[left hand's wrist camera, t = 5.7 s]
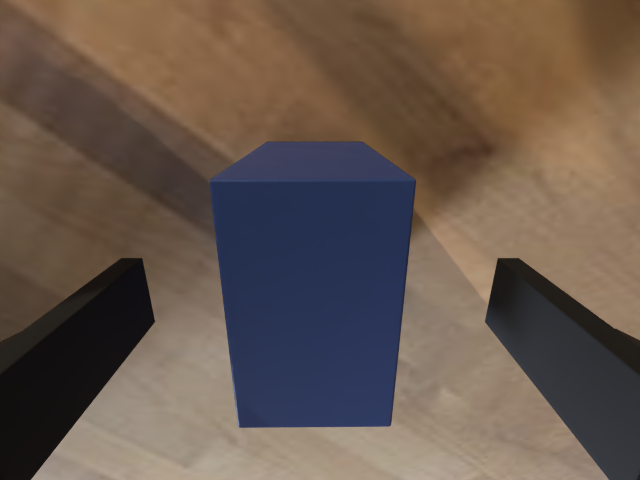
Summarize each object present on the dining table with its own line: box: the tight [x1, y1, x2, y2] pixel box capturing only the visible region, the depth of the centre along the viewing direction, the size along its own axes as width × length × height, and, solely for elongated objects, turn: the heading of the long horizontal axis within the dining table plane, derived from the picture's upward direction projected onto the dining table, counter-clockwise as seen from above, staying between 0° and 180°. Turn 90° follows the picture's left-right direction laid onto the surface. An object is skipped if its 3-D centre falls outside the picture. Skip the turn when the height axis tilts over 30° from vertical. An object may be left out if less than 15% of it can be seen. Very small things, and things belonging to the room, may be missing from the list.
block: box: [209, 142, 416, 428], centre depth 16 cm, size 6×9×11 cm, turn 0°
